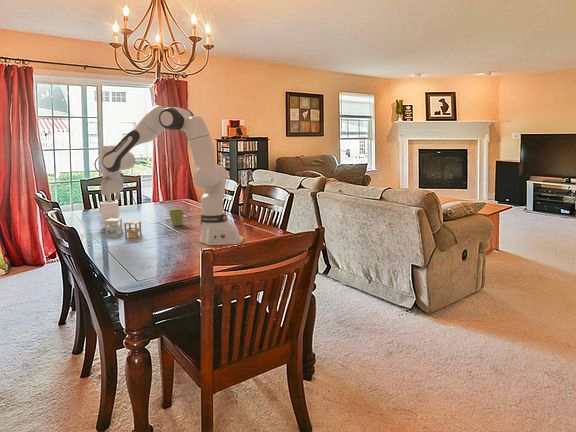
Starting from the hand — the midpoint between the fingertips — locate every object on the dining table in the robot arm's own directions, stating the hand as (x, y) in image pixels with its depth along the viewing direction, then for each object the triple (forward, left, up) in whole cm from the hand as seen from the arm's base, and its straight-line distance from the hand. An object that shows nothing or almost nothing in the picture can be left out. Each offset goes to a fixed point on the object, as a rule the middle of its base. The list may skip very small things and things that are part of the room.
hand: (113, 201), depth 233 cm
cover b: (+1, 0, -19) cm, 19 cm away
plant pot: (-27, -24, -19) cm, 41 cm away
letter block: (-12, +6, -19) cm, 23 cm away
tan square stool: (-12, +6, -19) cm, 23 cm away
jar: (+11, -18, -19) cm, 28 cm away
